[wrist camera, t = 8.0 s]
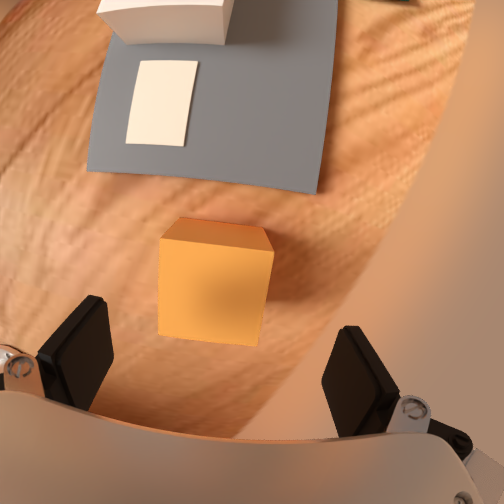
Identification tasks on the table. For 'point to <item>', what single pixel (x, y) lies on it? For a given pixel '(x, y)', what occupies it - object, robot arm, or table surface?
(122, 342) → the table surface
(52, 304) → the table surface
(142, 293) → the table surface
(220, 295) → the orange foam cube
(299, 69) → the board
